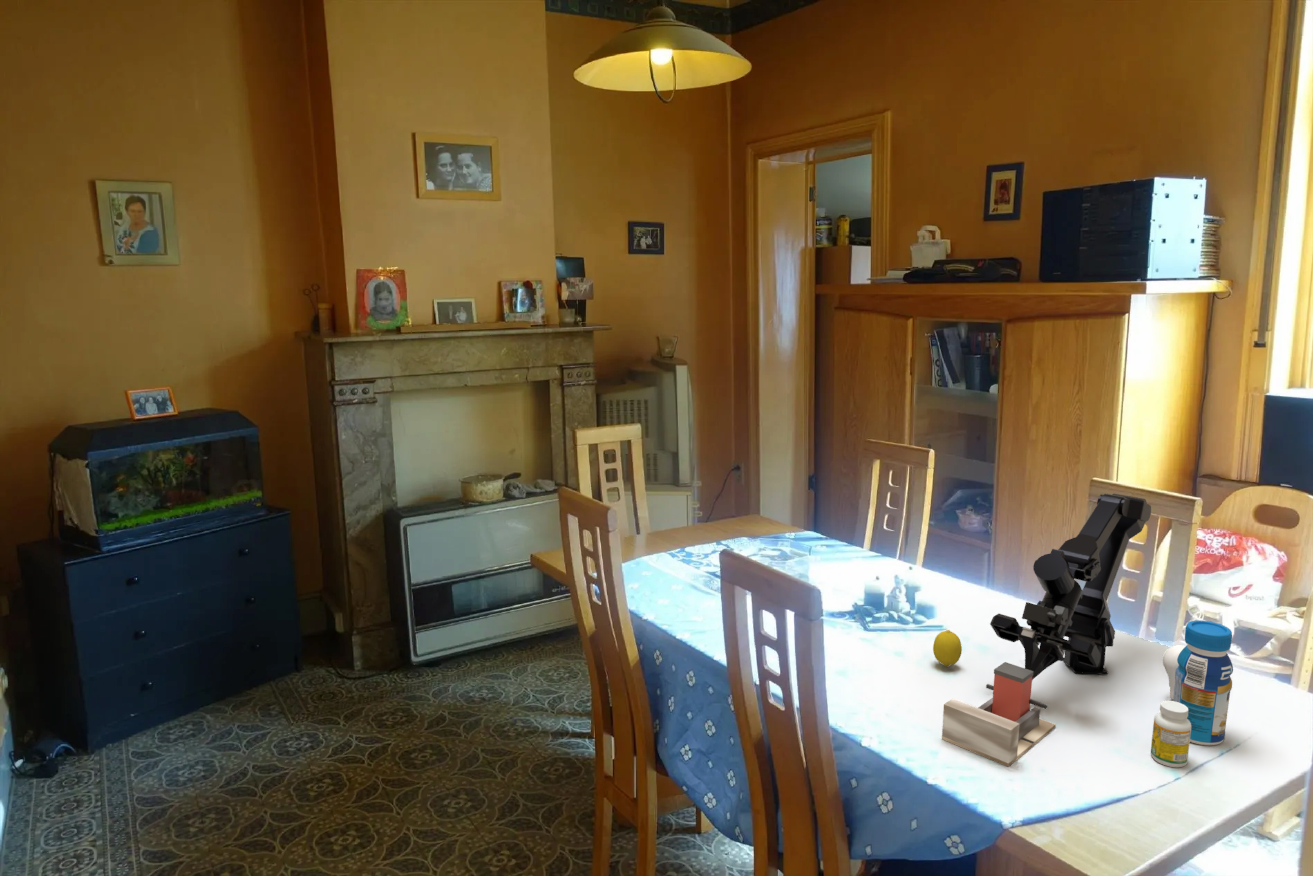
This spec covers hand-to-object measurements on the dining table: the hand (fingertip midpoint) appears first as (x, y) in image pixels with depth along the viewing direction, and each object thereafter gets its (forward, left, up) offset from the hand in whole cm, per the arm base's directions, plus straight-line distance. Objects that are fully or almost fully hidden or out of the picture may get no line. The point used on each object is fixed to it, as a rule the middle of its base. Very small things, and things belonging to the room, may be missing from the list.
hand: (1027, 679), depth 160 cm
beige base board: (+7, +7, -7) cm, 12 cm away
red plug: (+4, +4, -7) cm, 9 cm away
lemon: (+9, -19, -7) cm, 22 cm away
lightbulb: (-30, -5, -7) cm, 31 cm away
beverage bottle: (-27, +7, -7) cm, 29 cm away
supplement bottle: (-18, +15, -7) cm, 24 cm away
